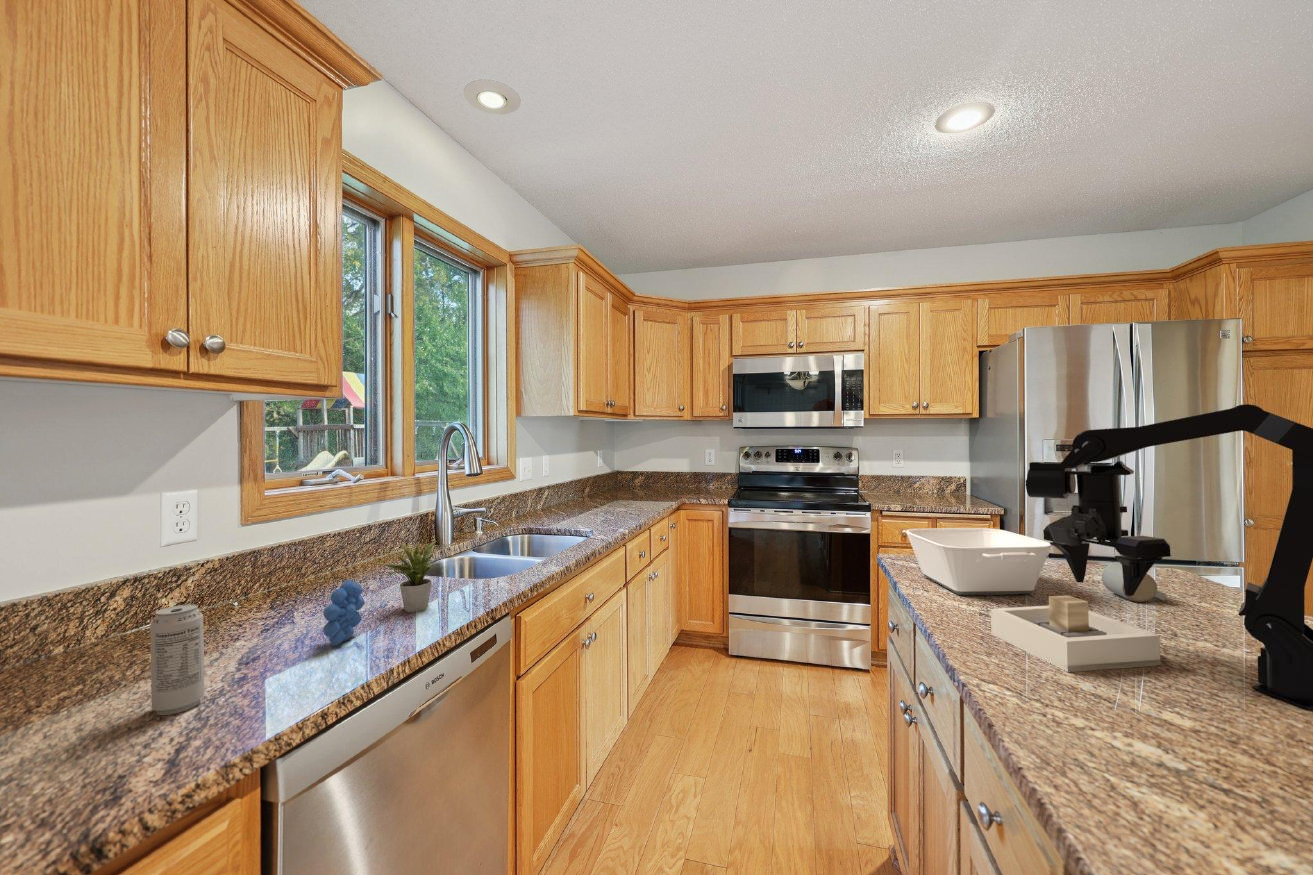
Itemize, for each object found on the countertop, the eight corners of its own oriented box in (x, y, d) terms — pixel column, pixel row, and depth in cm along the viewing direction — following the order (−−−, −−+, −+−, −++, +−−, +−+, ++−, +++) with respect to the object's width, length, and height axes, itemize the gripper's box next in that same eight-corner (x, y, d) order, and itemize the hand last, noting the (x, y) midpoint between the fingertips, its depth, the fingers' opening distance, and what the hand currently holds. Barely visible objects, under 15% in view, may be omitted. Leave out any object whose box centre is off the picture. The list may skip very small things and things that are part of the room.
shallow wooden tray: (1160, 665, 89) (1159, 635, 89) (1067, 672, 87) (1066, 641, 87) (1070, 629, 106) (1070, 604, 106) (991, 634, 104) (990, 608, 104)
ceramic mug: (1123, 603, 121) (1123, 569, 121) (1100, 592, 129) (1100, 561, 129) (1177, 605, 119) (1177, 571, 119) (1150, 594, 127) (1150, 562, 127)
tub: (1077, 606, 120) (1076, 549, 120) (957, 607, 121) (956, 551, 121) (987, 569, 154) (986, 525, 154) (894, 570, 154) (893, 526, 155)
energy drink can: (207, 693, 86) (205, 600, 86) (201, 708, 81) (199, 610, 81) (156, 704, 82) (155, 607, 82) (147, 721, 77) (145, 618, 77)
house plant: (408, 597, 137) (407, 534, 137) (458, 598, 135) (457, 534, 136) (371, 615, 123) (370, 545, 123) (427, 617, 121) (425, 545, 121)
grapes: (341, 630, 113) (340, 574, 114) (372, 630, 113) (371, 574, 113) (304, 652, 102) (303, 590, 102) (339, 652, 102) (338, 589, 102)
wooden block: (1089, 646, 94) (1088, 601, 94) (1068, 648, 94) (1067, 603, 94) (1069, 638, 98) (1068, 595, 98) (1049, 639, 98) (1048, 596, 98)
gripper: (1015, 497, 102) (1019, 578, 102) (1108, 508, 84) (1114, 607, 84) (1067, 495, 104) (1072, 575, 103) (1170, 504, 85) (1176, 602, 85)
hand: (1103, 588), depth 94 cm, fingers open, 9 cm apart
